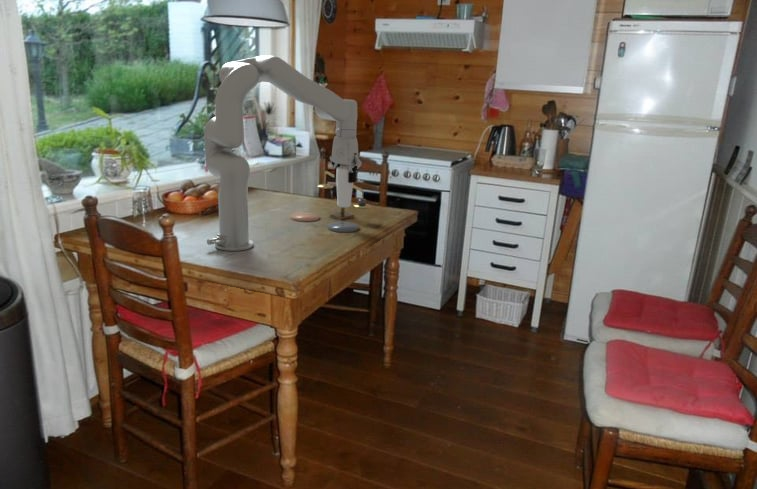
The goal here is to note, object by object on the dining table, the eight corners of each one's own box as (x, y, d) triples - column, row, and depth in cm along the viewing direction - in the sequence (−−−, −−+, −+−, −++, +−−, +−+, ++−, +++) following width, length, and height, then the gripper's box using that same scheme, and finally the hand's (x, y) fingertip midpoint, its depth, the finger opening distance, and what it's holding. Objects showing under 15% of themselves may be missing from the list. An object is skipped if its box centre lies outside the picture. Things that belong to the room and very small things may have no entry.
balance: (360, 226, 222) (362, 181, 216) (312, 212, 239) (312, 170, 234) (374, 222, 227) (376, 179, 222) (325, 209, 245) (326, 168, 240)
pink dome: (303, 223, 221) (303, 220, 221) (284, 217, 228) (284, 215, 228) (325, 218, 230) (325, 216, 230) (305, 212, 237) (305, 210, 237)
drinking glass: (350, 209, 211) (351, 170, 206) (333, 207, 212) (334, 168, 208) (354, 205, 217) (356, 167, 213) (337, 203, 218) (339, 165, 214)
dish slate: (343, 234, 209) (343, 231, 209) (321, 227, 216) (321, 225, 216) (364, 228, 218) (364, 226, 218) (342, 222, 225) (342, 220, 225)
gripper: (322, 131, 209) (321, 178, 214) (356, 136, 198) (354, 185, 204) (336, 130, 214) (335, 176, 220) (370, 135, 204) (368, 183, 209)
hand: (344, 180), depth 212 cm, fingers closed on drinking glass, 6 cm apart
